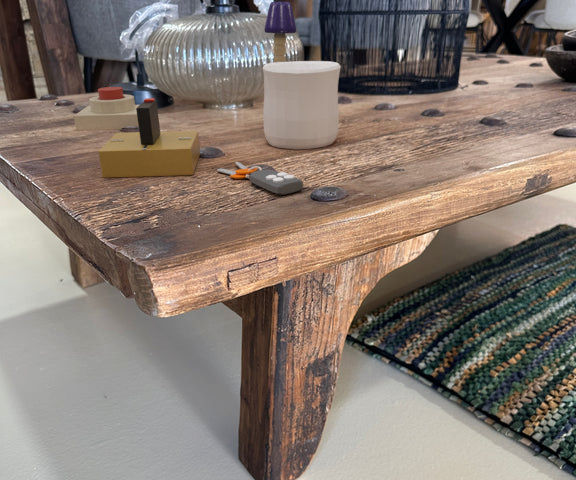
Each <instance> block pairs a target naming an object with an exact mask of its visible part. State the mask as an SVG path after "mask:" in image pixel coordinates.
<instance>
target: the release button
mask: <svg viewBox="0 0 576 480" xmlns="http://www.w3.org/2000/svg"><path fill="white" fill-rule="evenodd" d="M97 92H98V93H97V94H98V96H99V99H100V100H116V99H122V98H124V96H123V94H124V90H123V87H122V86H105V87H100V88H98V89H97Z"/></svg>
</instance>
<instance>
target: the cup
mask: <svg viewBox="0 0 576 480" xmlns="http://www.w3.org/2000/svg"><path fill="white" fill-rule="evenodd" d="M341 68H342V66H341V64H340V63H338V62H335V61H329V60H326V61H325V60H297V61H286V62H275V63H274V62H268V63H266V64H264V65H263V66H262V72H263V93H264V96H263V110H262V116H263V117H262V118H263V119H262V120H263V133H264V137H265V139H266V141H267V143H268V144H269V145H270V146H272V147H276V148H279V149H286V150H311V149H318V148H319V149H320V148H323V147H327V146H330V145H332V144H333V143H334V142H335V141H336V139H337V137H338V133H339V124H340V123H339V122H340V121H339V118H340V112H339V111H340V110H339V95H338V94H339V92H338V91H339V80H340V72H341Z"/></svg>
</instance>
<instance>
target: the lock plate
mask: <svg viewBox="0 0 576 480" xmlns="http://www.w3.org/2000/svg"><path fill="white" fill-rule="evenodd" d="M199 135H200V134H199V130H174V131H172V130H171V131H169V130H168V131H160V136H159V137H158V139H157V140H156V141H155V143H154V144H153V145H141V140H140V133H139V131H138V132H137V131H135V132H116V133H114V135H113V136H112V137H110V139H108V141H107V142H106V143H105V144H104V145H103V146H102V147H100V149H99V150H98V153H97V154H98V157H99V165H100V169H101V175H102V178H104V179H107V178H109V179H112V178H113V179H114V178H139V177H140V178H141V177H173V176H174V177H175V176H178V177H179V176H194V174H195V171H196V169H197V168H196V167H197V166H198V165H197V164H198V162H199V159H200V157H201V147H200V137H199Z"/></svg>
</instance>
